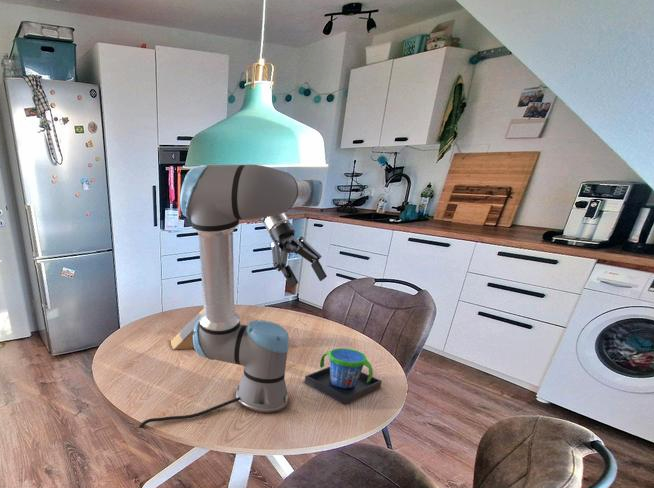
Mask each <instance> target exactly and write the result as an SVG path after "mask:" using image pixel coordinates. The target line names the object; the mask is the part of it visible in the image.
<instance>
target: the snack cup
mask: <svg viewBox="0 0 654 488" xmlns="http://www.w3.org/2000/svg"><path fill="white" fill-rule="evenodd" d="M327 355H328V358H329V367H330V381H331V383H332V384H333V385H335V386H336V387H339V388H343V389H348V388H353V387H355V385H356V383H357V380H358V378H359V376H360V373H361V372H362V371H363V368H364V366H365V367H366V368H367V369H368V375H369V376H368V379H367V383H368V382H369V381H370V380H371V378H372V377H373V375H374V374H373V373H374V370H373V367H372V366H373V365H372V364H371V363H370V361H368V359H367V356H366V355H365V354H364V353H363V352H361V351H359V350H357V349H351V348H346V347H345V348H344V347H340V348H334V349H332V350H329V351H328V350H327V352H325V353H324V354H323V355H322V356H321V358H320V361H319V367H320V369H322V368H324V366H325V357H326V356H327Z"/></svg>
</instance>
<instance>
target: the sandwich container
mask: <svg viewBox="0 0 654 488" xmlns="http://www.w3.org/2000/svg"><path fill="white" fill-rule="evenodd" d="M202 314H204V307H203V308H202V309H201V310H200V311H199V313H198V314H196V315H195V316H194V318H192V319H191V320H190V321H189V323H187V325H185V326H184V328H182V329H181V331H179V332H178V333H177V334H176V335H175V336H174V337H173V338H172V339H171V340H170V345H171V347H172V349H173V350H189V349H195V348H194V344H193V335H194V327H195V324H196V323H197V321H198V320H199V319H200V317H201V315H202Z"/></svg>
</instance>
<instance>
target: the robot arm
mask: <svg viewBox="0 0 654 488" xmlns="http://www.w3.org/2000/svg"><path fill="white" fill-rule="evenodd" d="M322 197H323V181H322V180H320V179H319V180H318V179H300V178H297V177H296V178H295V177H294V176H293V175H292V174H290V173H289V172H286V171H283V170H280V169H277V168H273V167H270V166H265V165H260V164H206V165H197V166H193V167H191V168H190V170H189V171H187V173H186V174H185V177H184V179H183V182H182V184H181V190H180V196H179V206H180V211H181V213H182V215H183V216H184V217H185V218H187V219H190V221H191V229H192V230H193V231H194V232H196V233H197V234H198V246H199V258H200V259H199V260H200V261H199V262H200V274H201V288H202V289H201V290H202V303H203V304H202V305H203V308H204V314H202V315H201V317H200V319H199V320H198V321H197V323H196V324H195V327H194V335H193V344H194V348H193V349H194V350H195V352H196V353H197V355H199V357H202V358H205V359H208V360H211V361H214V360H215V361H220V362H224V363H229V364H234V365H237V366H242V367H243V374H242V377H241V379H240V381H239V383H238V386H237V388H236V391H235V398H232V399H230V400H228V401H225V402H222V403H220V404H218V405H215V406H213V407H210V408H207V409H205V410H202V411H199V412H196V413H191V414H186V415H185V414H184V415H172V416H164V417H153V418H148V419H146V420H144V421H143V422H141V423H140V424H139V425H138V429H141V428H143V427H144V426H145V425H146V424H149V423H154V422H164V421H171V420H185V419H192V418H197V417H200V416H203V415H205V414H209V413H211V412H213V411H216V410H218V409H221V408H223V407H226V406H229V405H231V404H233V403H236V402H237V403H238V404H239V405H240V406H242V407H243V408H245V409H247V410H249V411H252V412H255V413H261V414H262V413H263V414H272V413H276V412H279V411H283V410H284V409H286V407H287V406H288V404H289V396H290V395H289V391H288V390H287V385H286V379H285V375H286V368H287V367H286V366H287V359H288V352H289V350H290V346H289V345H290V344H289V341H290V340H289V339H290V338H289V337H290V336H289V333H288V331H287V330H286V329H285V328H284V327H283V326H281V325H280V324H278V323H275V322H273V321H268V320H264V319H263V320H262V319H261V320H252V321H249V322H248V323H247V325H245V324H241V317H240V315H239V314H238V313H237V312H236V311H235V271H234V270H235V268H234V267H235V266H234V265H235V264H234V230H236V229H237V228H238V227H239V225H240V220H241V221H242V220H243V221H244V220H245V221H248V220H249V221H250V220H251V221H252V220H259V219H261V221H262V224H263V225H264V226H265V229H266V231H267V233H268V234H269V237H270V238H271V240H272V242H271V243H270V244H269V247H270V249H271V254H272V264H273V269H275V270H277V272H281V273H282V275H283V276H284V278H285V279H286V280H287V282H288V284H289V286H290V288H295V286H296V285H298V284H299V281H298V279H297V276H296V275H295V273H294V271H293V269H292V268H291V266H290V265H287V263H288V256H289V255H288V254H290V253H291V254H293V253H294V254H296V255H297V254H298V255H299V256H300V257H302V258H303V259H305V260H306V261H308V262H309V263H311V264H310V266H311V268H312V270H313V272H314V273H315V275H316V277H317V279H318V280H319V282H322V281H323V280H325V279H326V278H327V277H328V275H327V273H326V272H325V270H324V269H323V266H322V264H321V262H320V259H321V258H322V255H321V254H320V253H319V252H318V251H317V250H316V248H314V247H313V246H312V245H310V243H309V242H308V241H306V239H305V237H304V236H302V235H301V236H300V237H298V238H297V237H296V236H295V235H296V234H295V233H296V230H295V228H294V226H293V225H292V223H291V222H290V219H289V217H288V216H287V214H286V212H288V211H290V210H291V209H293V208H298V207H303V208H304V207H306V208H310V207H318V206H320V203H321V200H322Z"/></svg>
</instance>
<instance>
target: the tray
mask: <svg viewBox="0 0 654 488" xmlns="http://www.w3.org/2000/svg"><path fill="white" fill-rule="evenodd" d="M368 376H369V374H367V373H364V372H362V371H361V373H360V376H359V378H358V380H357V383H356V385H355V387H353V388H348V389H343V388H339V387H336V386H335V385H333V384H332V383H331V381H330V366H327V367H325V368H323V369H322V368H321V369H320V370H317V371H314V372H312V373H309V374H307V375H305V377H304V383H305V384H306V385H308V386H310V387H312V388H313V389H316V390H317V391H319V392H321V393H323V394H325V395H327V396H329V397H330V398H333V399H335V400H336V401H338V402H340V403H342V404H344V405H347V404H350V403H352V402H354V401H356V400H359V399H360V398H362V397H365V396H366V395H368V394H371V393H372V392H375V391H377V390H379V389H381V386H382V382H383V381H382V380H380V379H378V378H377V377H375V376H372V378H371V380H370V381H369V382H368V383H367V379H368Z"/></svg>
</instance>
